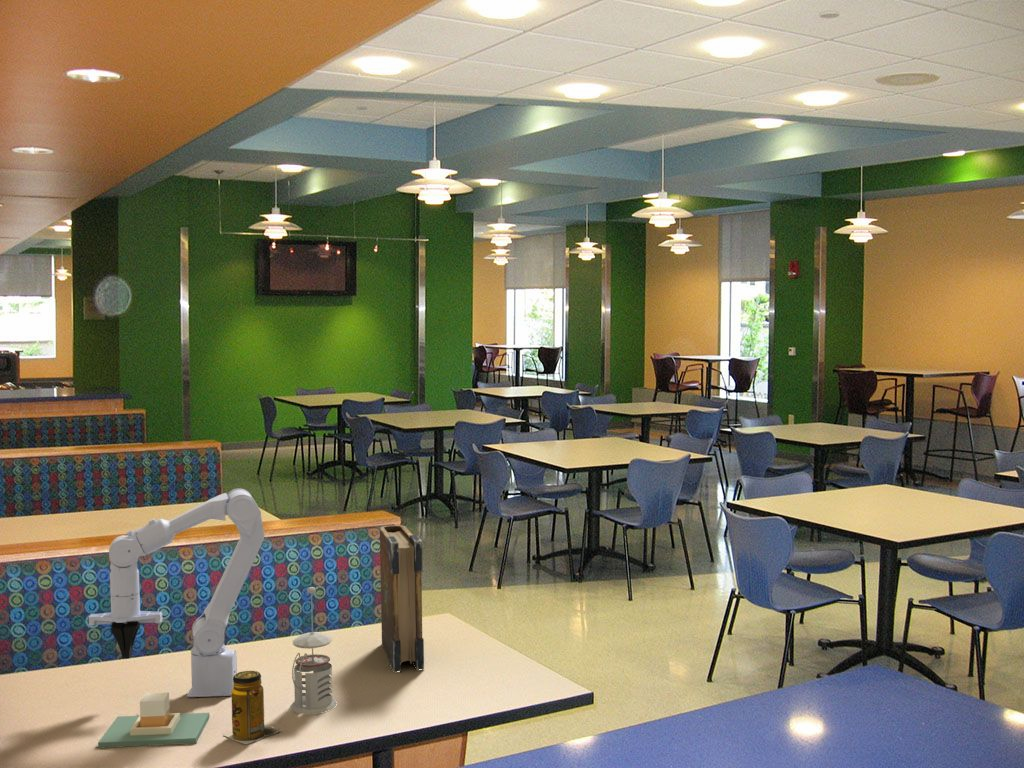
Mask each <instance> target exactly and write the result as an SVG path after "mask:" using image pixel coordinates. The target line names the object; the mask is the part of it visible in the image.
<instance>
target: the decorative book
mask: <svg viewBox="0 0 1024 768" xmlns="http://www.w3.org/2000/svg"><path fill="white" fill-rule="evenodd" d="M379 557H380V558H379V561H380V563H379V566H380V567H379V568H380V606H381V607H380V609H381V610H380V611H381V614H380V615H381V617H380V618H381V620H380V621H381V622H380V623H381V645H382V647H383V650H384V649H385V650H384V651H386V652H385V653H386V655H387V658H388V664H389V663H390V664H389V666H390V665H391V667H392V669H393V671H394V672H397V671H401V672H402V663H403V662H409V663H410V664H413V663H414V665H415V666H414V665H413V666H414V668H415V667H416V668H415V670H416V669H417V670H419V669H424V670H425V654H424V653H425V646H424V645H425V643H424V641H425V640H424V637H423V604H422V603H423V602H422V601H423V599H422V598H423V595H422V594H423V593H422V592H423V591H422V588H423V587H422V573H423V568H424V567H423V540H422V539H421V538H420V537H419V536H418V534H413V533H412V532H411V531H410V529H409V528H408V527H407V526H405V525H403V524H402V525H400V524H392V525H382V526H380V527H379ZM412 662H413V663H412ZM391 667H390V668H391ZM392 669H391V670H392ZM417 670H416V671H417ZM393 671H392V672H393Z"/></svg>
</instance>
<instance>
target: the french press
mask: <svg viewBox="0 0 1024 768" xmlns="http://www.w3.org/2000/svg"><path fill="white" fill-rule="evenodd" d="M306 593H307V594H310V600H311V601H310V604H311V607H310V609H311V612H310V613H311V632H305V633H303V634H300V635H299V636H297V637H296V638H295V639H294V640H292V645H293V646H295V647H296V648H299V649H311V653H310V654H307V653H304V655H301V653H300V652H298V653H297V654H296V655H295V658H294V659H293V663H292V667H291V668H292V671H291V675H292V677H291V679H292V683H293V686H294V692H293V693H294V701H293V702H292V703H291V704H290V705H289V710H290V709H291V711H292V712H293V711H294V712H293V713H296V712H297V714H300V713H301V715H316V713H318V714H322V713H321V712H323V713H326V712H325V711H327V712H329V711H328V710H330V711H331V709H332V710H333V708H334V707H335V706H336V704H337V705H338V702H337V703H336V701H337V700H336V699H334V698H333V695H332V694H333V689H331V688H333V683H331V682H333V678H332V677H331V676H333V667H332V666H333V665H332V663H330V661H331V658H330V656H328V655H326V654H322V653H321V654H319V653H315V654H314V649H318V648H322V647H325V646H328V645H329V644H331V642H333V639H332V637H331V636H329V635H327V634H326V633H322V632H318V631H314V626H313V624H314V622H313V619H314V618H313V594H315V593H316V594H317V590H316V587H314V586H310V587H308V588H307V589H306ZM295 664H296V665H295ZM303 673H304V674H303ZM303 679H304V680H303ZM303 685H305V686H303ZM303 691H305V692H303ZM336 707H337V706H336ZM336 707H335V708H336ZM335 708H334V709H335ZM302 713H303V714H302Z"/></svg>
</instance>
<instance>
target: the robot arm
mask: <svg viewBox="0 0 1024 768" xmlns="http://www.w3.org/2000/svg"><path fill="white" fill-rule="evenodd" d="M226 516H227V517H228V518H229V519H230V520H231V522H232V523H233V524H234V525H235V526H236V528H237V531H238V534H239V535H240V536H239V539H238V541H237V544H236V546H235V548H234V550H233V552H232V554H231V556H230V558H229V561H228V563H227V565H226V567H225V569H224V571H223V573H222V576H221V578H220V580H219V582H218V584H217V586H216V589H215V591H214V593H213V595H212V597H211V600H210V602H209V603H208V604H207V605H206V607H205V608H204V611H203V612H202V614H201V615H200V616H198V617H197V618H196V619H195V620H194V622H193V624H192V627H191V633H192V636H193V639H192V640H193V646H192V647H191V649H190V661H191V662H190V663H191V664H190V669H191V671H190V672H191V688H189V691H188V692H187V694H186V698H204V697H207V698H208V697H226V696H227V697H228V696H229V697H231V691H232V689H233V676H234V675H235V674H237V673H238V658H237V657H238V655H237V651H236V650H235V649H231V648H230V649H229V648H226V644H225V632H226V628H227V627H228V624H229V620H230V619H229V618H230V614H231V612H232V610H233V608H234V606H235V603H236V601H237V599H238V597H239V594H240V592H241V591H242V588H243V585H244V583H245V581H246V580H247V576H249V572H250V570H251V569H252V566H253V564H254V562H255V560H256V557H257V556H258V553H259V550H260V549H261V546H262V544H263V543H264V540H265V530H264V526H263V518H262V511H261V509H260V507H259V505H258V504H257V502H256V500H255V499H254V498H253V496H252V495H251V493H250V492H249V491H248V490H246V489H244V488H234V489H232V490H230V491H229V492H228V493H227V492H224V493H220V494H219V495H216V496H214V497H212V498H210V499H208V500H207V501H204V502H202V503H200V504H198V505H196V506H195V507H193V508H191V509H189V510H187V511H185V512H183V513H181V514H179V515H178V516H175V517H174V518H172V519H169V520H167V519H164V518H158V519H155V518H154V517H153V518H151V519H149V520H148V524H146V525H143V526H141V527H139V528H137V529H136V530H133V531H132V529H131V530H128V531H126V535H123V534H122V535H119V536H117V537H115V538H114V539H113V540H112V541H111V543H110V545H109V549H108V557H109V561H110V565H109V569H110V572H109V585H110V587H109V588H110V589H109V590H110V593H109V594H110V612H102V613H91V614H90V615H89V616H88V626H92V627H93V626H95V625H111V627H110V633H111V634H112V636H113V637H114V640H115V641H116V642H117V645H118V647H119V651H120V653H121V659H123V660H124V659H125V660H126V659H130V658H131V657H132V655H133V648H134V643H135V640H136V637H137V634H138V632H139V630H140V627H141V625H142V624H145V623H146V624H148V623H151V624H152V623H155V624H161V623H162V621H163V611H149V610H148V611H146V610H141V597H140V596H141V595H140V571H139V569H138V559H139V557H146V556H147V555H149V554H151V553H153V552H156V551H158V550H159V549H162V548H163V547H166V546H168V545H169V544H172V543H173V542H174V539H175V536H176V535H177V534H180V533H182V532H184V531H186V530H188V529H191V528H193V527H196V526H197V525H200V524H202V523H205V522H206V521H208V520H216V521H217V520H218V521H226V520H227V519H226Z"/></svg>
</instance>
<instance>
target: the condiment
mask: <svg viewBox="0 0 1024 768" xmlns="http://www.w3.org/2000/svg"><path fill="white" fill-rule="evenodd" d="M264 695H265V694H264V687H263V685H262V675H261V673H260V672H259V671H256V670H244V671H239V672H237V674H235V675H234V676H233V689H232V691H231V696H230V697H231V728H232V731H231V732H229V733H227V734H223V736H224V737H227V738H228V739H231V740H232V741H236V742H237V743H241V744H242V745H243V744H244V745H248V744H251V743H254V742H257V741H260V740H263V739H264V738H267V737H268V736H271V735H275V734H276V733H278V732H282V731H283V730H282V729H278V728H275V727H273V726H271V725H267V724H265V699H264V698H265V697H264Z"/></svg>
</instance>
